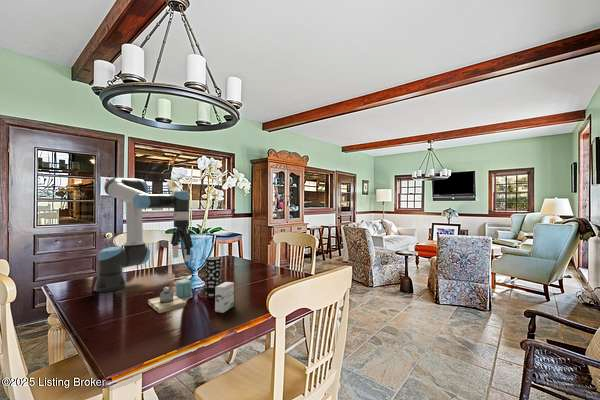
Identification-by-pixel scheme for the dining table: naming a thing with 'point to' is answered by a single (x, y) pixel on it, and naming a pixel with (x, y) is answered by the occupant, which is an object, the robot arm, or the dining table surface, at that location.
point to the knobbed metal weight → (166, 295)
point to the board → (166, 304)
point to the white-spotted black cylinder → (212, 275)
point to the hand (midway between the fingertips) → (181, 259)
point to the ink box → (224, 297)
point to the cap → (183, 288)
